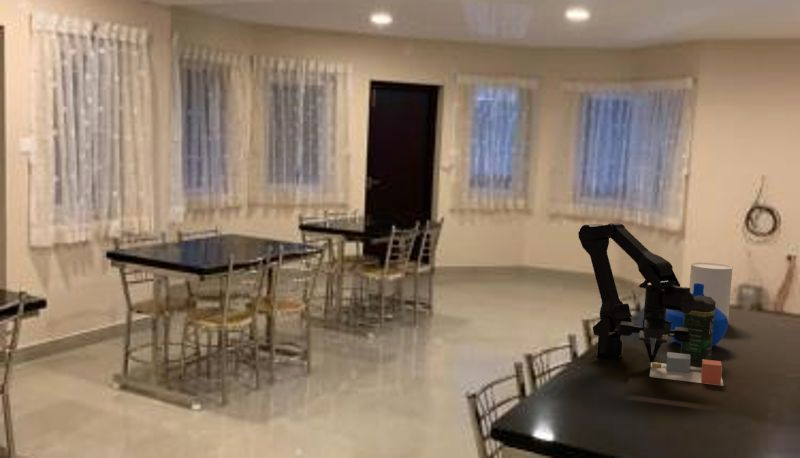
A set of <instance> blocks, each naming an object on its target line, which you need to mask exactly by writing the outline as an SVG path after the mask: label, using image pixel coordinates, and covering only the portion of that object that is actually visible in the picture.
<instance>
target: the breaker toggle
mask: <svg viewBox="0 0 800 458" xmlns="http://www.w3.org/2000/svg"><path fill="white" fill-rule="evenodd" d="M691 361H692V360H691V358H690V354H681V353H679V352H671V351H667V352H666V363H665V364H666V370H670V371H678V372H687V373H690V366H691Z"/></svg>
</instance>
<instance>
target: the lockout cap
mask: <svg viewBox="0 0 800 458" xmlns="http://www.w3.org/2000/svg"><path fill="white" fill-rule="evenodd" d="M722 366H723V364H722V361H721V360H712V359H710V360H704V359H702V361H701V368H702V371H701V383H700V384H705V383H709V384H708V385H713V384H717V385H716V386H721V385H720V382H721V369H722V370H723V367H722Z"/></svg>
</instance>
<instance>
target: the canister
mask: <svg viewBox="0 0 800 458" xmlns="http://www.w3.org/2000/svg"><path fill="white" fill-rule="evenodd" d="M689 275H690V276H689V287H688V288H690V293H691V294H693V289H694V284H695V283H698V284H704V296H707V297H711V298H712V299H713V300H714V301H715V302H716V304H715V307H716V308H717V309H719V310H720V311H721V312H722V313H723V314H724V315H726V317H727V319H728V320H729V316H730V304H731V303H730V302H731V292H732V291H731V289H732V278H733V277H732V276H733V267H732V266H731V265H729V264H728V265H727V264H723V263H722V264H721V263H713V262H712V263H709V262H692V263H691V264H690V274H689Z"/></svg>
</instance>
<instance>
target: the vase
mask: <svg viewBox="0 0 800 458" xmlns="http://www.w3.org/2000/svg"><path fill="white" fill-rule="evenodd" d="M692 295H693V297H695V296H697V295H700V296H704V284H698V283H695V284H694V289H693V294H692ZM666 321H671V330H675V327H683V322H684V313H680V312H676V311H672V310H668V309H667V310H666ZM728 328H729V318H728V319H727V317H726V315H724V314H723V313H722V312H721V311H720V310H719V309H717V308H716V307H715V315H714V324H713V337H712V348H713V347H714V346H716V345H718V344H719V342H721V340H723V338H724V337H725V334H726V332H727V330H728ZM671 338H672V340H673V341H674V342H675V343H677V344H678V345H679V344H680V345H679V346H681V343H682V342H681V341H677V340H676V339H675V337H671Z"/></svg>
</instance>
